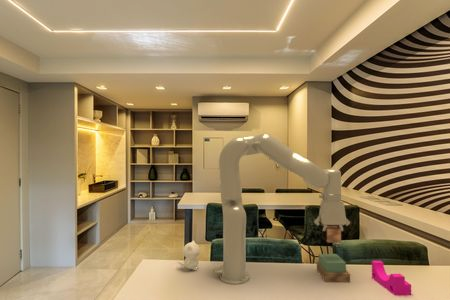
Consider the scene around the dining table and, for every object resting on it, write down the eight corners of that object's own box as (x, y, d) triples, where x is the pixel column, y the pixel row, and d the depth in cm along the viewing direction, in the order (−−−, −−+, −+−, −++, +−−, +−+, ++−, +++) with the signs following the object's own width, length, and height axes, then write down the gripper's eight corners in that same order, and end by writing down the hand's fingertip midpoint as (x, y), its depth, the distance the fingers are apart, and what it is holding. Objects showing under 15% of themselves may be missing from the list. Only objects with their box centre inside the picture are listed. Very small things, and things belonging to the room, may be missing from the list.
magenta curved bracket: (411, 296, 103) (411, 276, 103) (395, 297, 103) (394, 276, 103) (386, 278, 118) (386, 260, 118) (371, 278, 118) (371, 260, 118)
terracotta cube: (327, 242, 117) (327, 229, 117) (323, 238, 123) (323, 225, 123) (341, 242, 117) (340, 229, 117) (336, 238, 123) (336, 226, 123)
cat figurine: (197, 273, 123) (197, 246, 123) (174, 271, 124) (174, 245, 124) (202, 265, 131) (202, 240, 131) (180, 264, 133) (180, 238, 133)
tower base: (325, 283, 114) (325, 273, 114) (316, 270, 126) (316, 262, 126) (350, 283, 114) (349, 274, 114) (339, 271, 126) (339, 262, 126)
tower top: (326, 272, 115) (326, 262, 115) (318, 262, 125) (318, 254, 125) (345, 272, 115) (345, 262, 115) (336, 262, 125) (336, 253, 125)
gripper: (313, 199, 117) (314, 242, 117) (355, 199, 116) (356, 242, 116) (309, 196, 124) (309, 236, 124) (348, 196, 123) (349, 237, 123)
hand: (332, 239), depth 120 cm, fingers closed on terracotta cube, 5 cm apart
